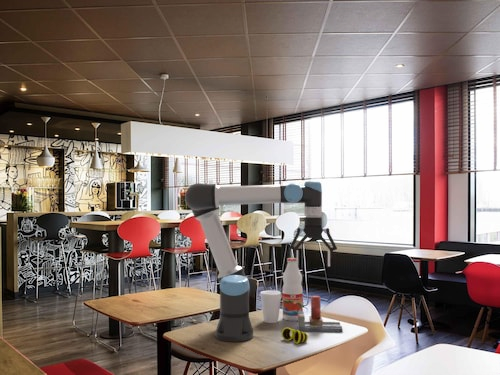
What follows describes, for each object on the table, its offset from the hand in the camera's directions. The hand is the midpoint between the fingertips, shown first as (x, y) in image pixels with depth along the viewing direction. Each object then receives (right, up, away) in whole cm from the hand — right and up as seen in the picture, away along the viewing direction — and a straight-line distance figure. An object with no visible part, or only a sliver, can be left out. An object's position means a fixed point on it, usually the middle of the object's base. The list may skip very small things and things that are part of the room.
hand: (313, 265), depth 185 cm
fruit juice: (-7, -27, +14) cm, 31 cm away
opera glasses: (-10, -26, -20) cm, 34 cm away
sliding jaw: (+1, -24, -3) cm, 24 cm away
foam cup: (-18, -27, +9) cm, 34 cm away
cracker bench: (+2, -26, -3) cm, 26 cm away
